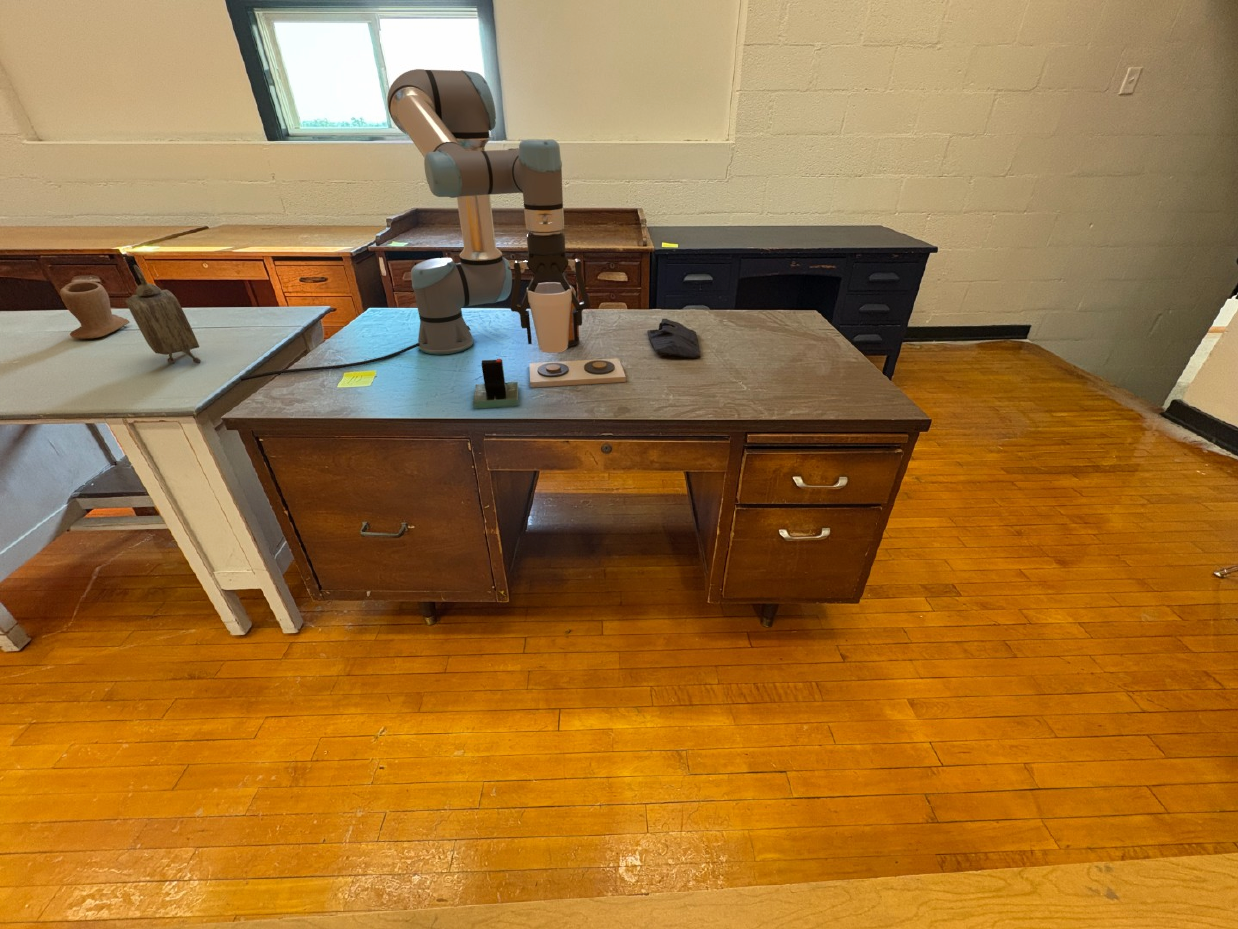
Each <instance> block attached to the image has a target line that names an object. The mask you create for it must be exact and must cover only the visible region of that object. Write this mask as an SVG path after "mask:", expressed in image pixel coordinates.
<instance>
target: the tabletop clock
mask: <svg viewBox="0 0 1238 929" xmlns="http://www.w3.org/2000/svg"><path fill="white" fill-rule="evenodd" d="M133 270H134V272H135V273H136V275H137V277H138V279H139V282H140V284H139V285H138V286H136V289H135V294H132V295H131V296H129V297H128V298H126V300H125V304H126V306H127V308H128V310H129V312H130V313H131V316H132V317H133V319H134V321H135V323H136V325H137V327H138V329H139V331H140V333H141V334H142V336H143V338H144V340H145V342H146V344H147V345H148V346H149V347H150V349H151V350H152V351H153V352H154V353H155V354H156V355H157V354H158V355H164V356H168V358H167V359H166V360H167V362H168V363H169V364H175V363H176V359H175V358H174V357H173V354H177V353H184V354H186V355H187V356H189V357H190V358H192V362H193V363H194V364H200V363H201V362H202V361H201V358H199V357H197V356H196V357H195V355H193V354H192V353H191V350H194V349H198V348H200V344H199V342H198V339H197V338H196V335H195V333H194V331H193V328H192V326H191V324H190V322H189V320H188V318H187V316H186V313H185V312H184V309H183V308H182V306H181V304H180V302H179V300H178V299H177V297H176V296H175V295H174V294H173V293H172V292H171V291H170V290H168V289H161V288H160V287H158V286H157V285H156V284H154V283H148V282H147V280H146V278H145V276H144V274H143V271H142V270H141V268H140V267H139V265H137V264H134V265H133Z"/></svg>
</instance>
